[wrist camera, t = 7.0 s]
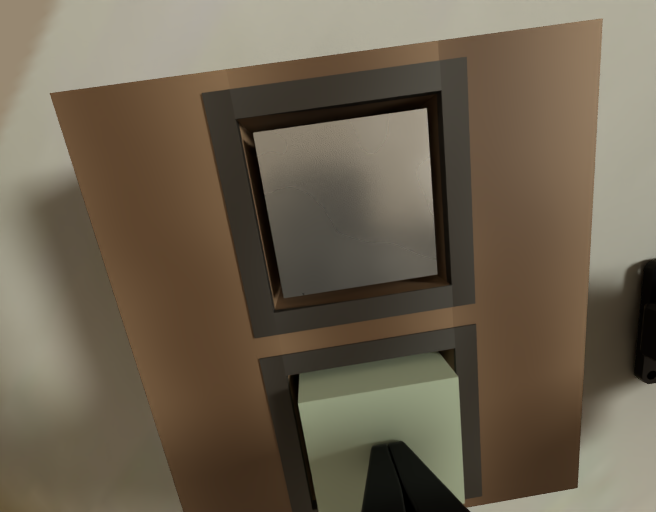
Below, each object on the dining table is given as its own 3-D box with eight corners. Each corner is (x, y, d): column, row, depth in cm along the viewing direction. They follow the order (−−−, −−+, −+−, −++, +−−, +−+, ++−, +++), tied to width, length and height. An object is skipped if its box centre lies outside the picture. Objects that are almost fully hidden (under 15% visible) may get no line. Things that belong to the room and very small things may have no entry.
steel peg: (374, 144, 13) (426, 108, 7) (383, 238, 13) (437, 274, 8) (278, 157, 12) (253, 132, 7) (294, 252, 13) (284, 298, 8)
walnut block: (465, 97, 13) (604, 17, 7) (475, 374, 15) (578, 489, 10) (174, 138, 12) (47, 92, 6) (240, 413, 15) (196, 557, 9)
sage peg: (394, 295, 13) (458, 377, 7) (402, 376, 14) (465, 503, 8) (302, 310, 13) (297, 403, 7) (316, 390, 14) (321, 528, 8)
